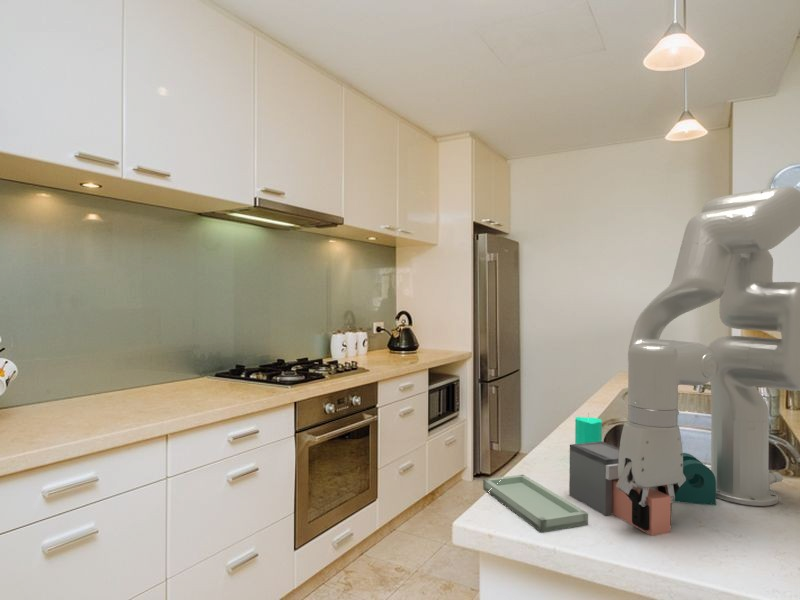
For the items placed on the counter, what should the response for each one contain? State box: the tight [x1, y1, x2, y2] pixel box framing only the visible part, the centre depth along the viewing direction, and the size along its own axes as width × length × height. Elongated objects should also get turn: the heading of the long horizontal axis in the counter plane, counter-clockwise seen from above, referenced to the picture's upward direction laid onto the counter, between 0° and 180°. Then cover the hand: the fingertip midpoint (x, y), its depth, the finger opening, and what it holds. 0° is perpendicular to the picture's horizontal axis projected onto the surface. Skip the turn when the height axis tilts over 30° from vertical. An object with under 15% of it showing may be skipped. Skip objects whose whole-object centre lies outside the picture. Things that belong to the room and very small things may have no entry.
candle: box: [574, 412, 603, 444], centre depth 119 cm, size 6×6×12 cm
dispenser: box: [568, 441, 620, 517], centre depth 95 cm, size 11×8×10 cm
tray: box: [482, 474, 589, 534], centre depth 94 cm, size 9×20×2 cm, turn 19°
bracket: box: [651, 452, 717, 506], centre depth 100 cm, size 18×7×8 cm, turn 79°
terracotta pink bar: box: [612, 479, 672, 537], centre depth 90 cm, size 4×16×6 cm, turn 19°
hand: (651, 523), depth 85 cm, fingers closed on terracotta pink bar, 4 cm apart
